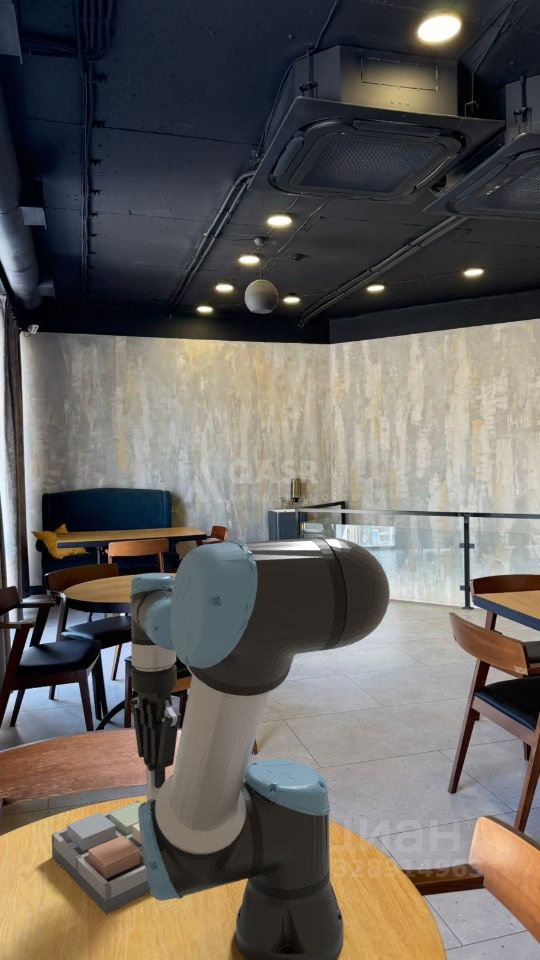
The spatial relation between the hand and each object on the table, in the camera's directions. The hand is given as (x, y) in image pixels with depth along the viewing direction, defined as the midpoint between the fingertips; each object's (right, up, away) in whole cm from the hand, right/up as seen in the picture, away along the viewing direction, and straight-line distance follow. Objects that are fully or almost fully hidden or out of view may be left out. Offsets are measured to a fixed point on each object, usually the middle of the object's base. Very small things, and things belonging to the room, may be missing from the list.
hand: (156, 803), depth 108 cm
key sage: (-5, -7, +6) cm, 10 cm away
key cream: (0, -6, 0) cm, 6 cm away
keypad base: (-5, -10, 0) cm, 11 cm away
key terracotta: (-6, -7, -6) cm, 10 cm away
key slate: (-11, -6, 0) cm, 13 cm away
